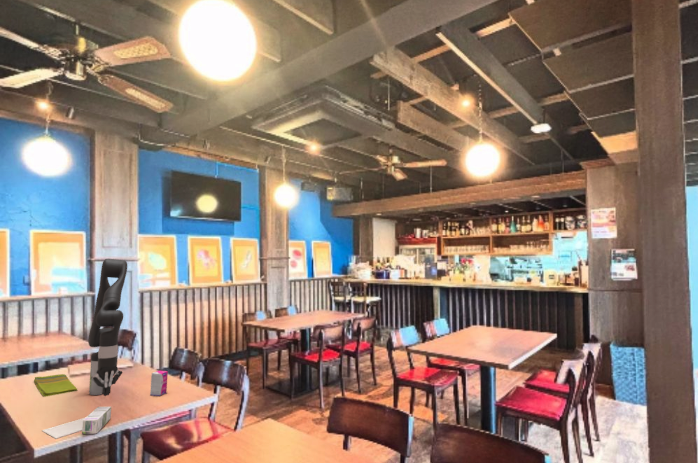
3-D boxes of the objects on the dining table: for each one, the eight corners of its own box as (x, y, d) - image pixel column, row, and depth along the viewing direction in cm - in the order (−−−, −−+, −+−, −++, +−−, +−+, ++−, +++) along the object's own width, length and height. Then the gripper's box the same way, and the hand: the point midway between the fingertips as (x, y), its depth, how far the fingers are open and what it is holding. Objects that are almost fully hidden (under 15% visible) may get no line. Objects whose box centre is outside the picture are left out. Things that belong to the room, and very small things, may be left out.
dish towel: (65, 377, 243) (65, 372, 243) (78, 391, 217) (78, 385, 217) (33, 382, 232) (33, 377, 232) (42, 398, 206) (42, 391, 207)
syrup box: (97, 406, 177) (81, 419, 163) (112, 406, 178) (97, 419, 164) (96, 419, 177) (80, 434, 162) (111, 419, 178) (96, 434, 163)
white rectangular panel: (41, 431, 166) (41, 430, 166) (89, 417, 181) (89, 416, 181) (55, 438, 159) (55, 438, 159) (104, 423, 174) (104, 422, 174)
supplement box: (159, 396, 209) (160, 373, 209) (149, 395, 210) (150, 373, 211) (167, 393, 214) (168, 370, 215) (157, 392, 215) (158, 370, 216)
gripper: (118, 351, 189) (116, 389, 187) (87, 357, 178) (85, 397, 176) (127, 353, 185) (125, 392, 183) (96, 359, 174) (94, 401, 172)
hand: (106, 395), depth 180 cm, fingers closed
